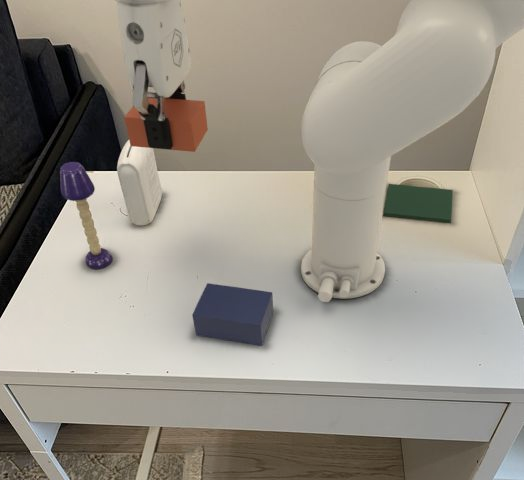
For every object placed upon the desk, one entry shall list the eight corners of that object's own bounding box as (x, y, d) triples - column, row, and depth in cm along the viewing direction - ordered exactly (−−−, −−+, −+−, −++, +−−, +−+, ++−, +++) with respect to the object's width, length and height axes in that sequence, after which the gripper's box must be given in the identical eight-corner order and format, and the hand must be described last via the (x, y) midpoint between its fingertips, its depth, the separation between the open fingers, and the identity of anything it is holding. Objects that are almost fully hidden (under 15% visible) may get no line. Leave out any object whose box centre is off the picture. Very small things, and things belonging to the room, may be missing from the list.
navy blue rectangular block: (262, 345, 74) (260, 325, 71) (196, 335, 76) (191, 314, 73) (273, 312, 78) (272, 291, 75) (210, 303, 80) (207, 282, 77)
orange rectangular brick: (195, 152, 71) (191, 122, 68) (130, 146, 73) (123, 117, 70) (207, 129, 75) (204, 100, 72) (146, 124, 76) (140, 96, 73)
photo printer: (142, 192, 100) (126, 127, 91) (165, 193, 100) (151, 127, 90) (128, 226, 93) (109, 160, 84) (152, 227, 93) (136, 160, 84)
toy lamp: (111, 248, 90) (82, 154, 77) (120, 264, 87) (90, 169, 74) (83, 258, 88) (48, 163, 76) (90, 274, 85) (55, 179, 73)
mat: (450, 222, 90) (451, 219, 90) (383, 215, 92) (383, 212, 92) (451, 192, 96) (452, 189, 95) (388, 186, 98) (388, 183, 97)
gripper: (148, 6, 54) (175, 171, 67) (199, -43, 65) (213, 107, 78) (78, 3, 55) (118, 166, 69) (140, -45, 66) (164, 103, 80)
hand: (169, 133), depth 73 cm, fingers closed on orange rectangular brick, 6 cm apart
